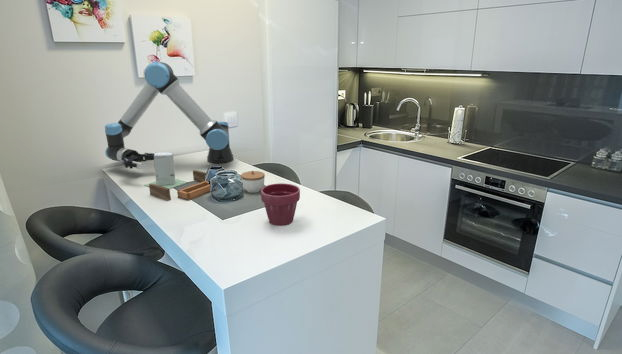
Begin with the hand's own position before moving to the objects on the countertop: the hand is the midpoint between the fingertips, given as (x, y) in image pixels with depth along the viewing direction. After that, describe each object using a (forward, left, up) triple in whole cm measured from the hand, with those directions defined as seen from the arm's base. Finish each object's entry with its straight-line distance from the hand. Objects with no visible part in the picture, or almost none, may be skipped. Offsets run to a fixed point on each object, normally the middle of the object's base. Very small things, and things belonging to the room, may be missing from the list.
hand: (154, 163), depth 168 cm
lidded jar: (-17, +47, -10) cm, 51 cm away
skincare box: (0, +7, -9) cm, 12 cm away
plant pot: (+2, +77, -10) cm, 77 cm away
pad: (0, +7, -10) cm, 12 cm away
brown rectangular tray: (0, +29, -10) cm, 30 cm away
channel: (0, +19, -10) cm, 21 cm away
